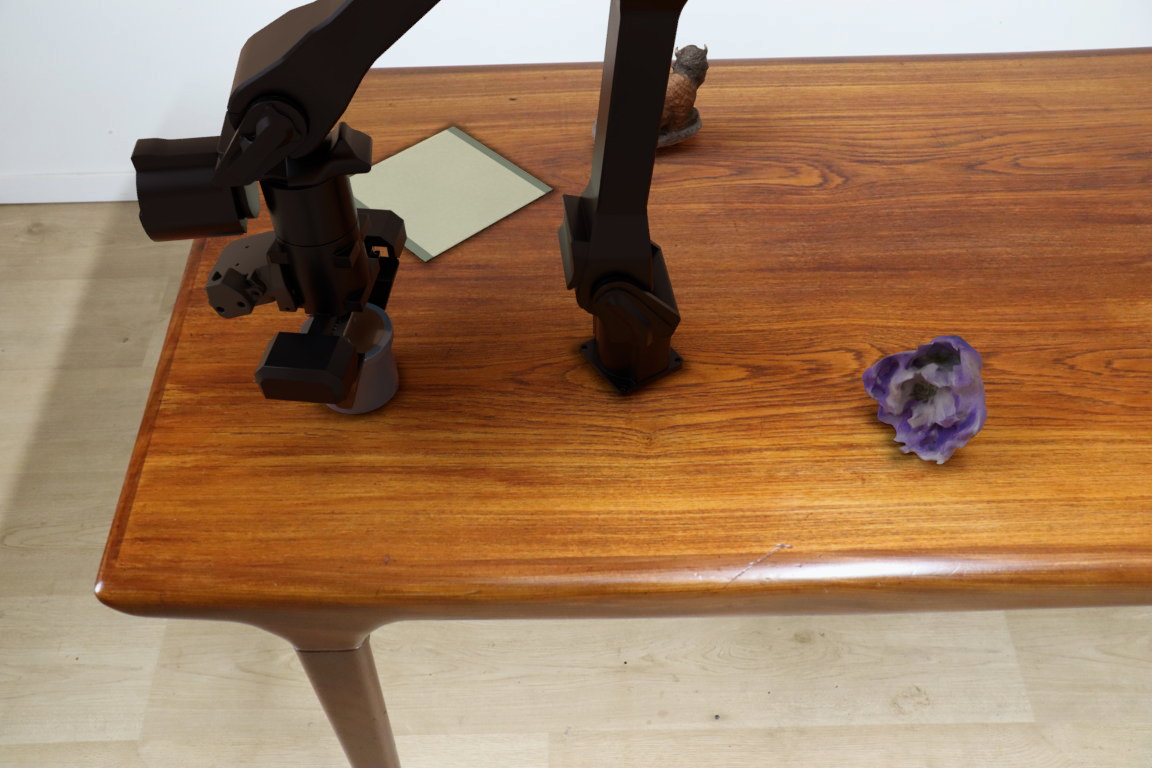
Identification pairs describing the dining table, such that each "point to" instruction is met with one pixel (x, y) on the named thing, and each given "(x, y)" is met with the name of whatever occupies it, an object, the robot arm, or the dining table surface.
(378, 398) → the pot
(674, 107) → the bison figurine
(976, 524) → the dining table surface
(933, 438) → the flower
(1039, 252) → the dining table surface
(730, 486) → the dining table surface
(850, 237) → the dining table surface
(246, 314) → the robot arm
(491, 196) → the mat
